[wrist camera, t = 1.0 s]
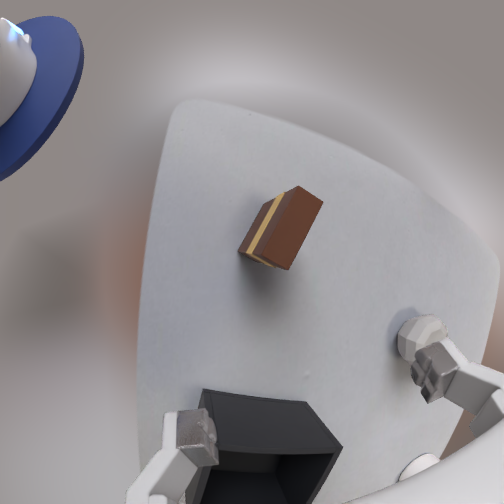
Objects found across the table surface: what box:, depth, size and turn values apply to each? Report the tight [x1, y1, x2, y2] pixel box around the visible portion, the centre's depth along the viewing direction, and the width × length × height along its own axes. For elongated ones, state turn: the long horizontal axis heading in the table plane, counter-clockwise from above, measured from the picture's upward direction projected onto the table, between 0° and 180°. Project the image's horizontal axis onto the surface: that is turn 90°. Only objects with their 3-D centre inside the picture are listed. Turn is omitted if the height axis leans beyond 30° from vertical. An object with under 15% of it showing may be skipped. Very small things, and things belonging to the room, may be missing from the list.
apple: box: [397, 314, 448, 365], centre depth 34 cm, size 8×8×7 cm
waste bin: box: [185, 389, 343, 504], centre depth 28 cm, size 14×14×11 cm
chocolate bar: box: [238, 186, 323, 270], centre depth 27 cm, size 2×6×11 cm, turn 151°
